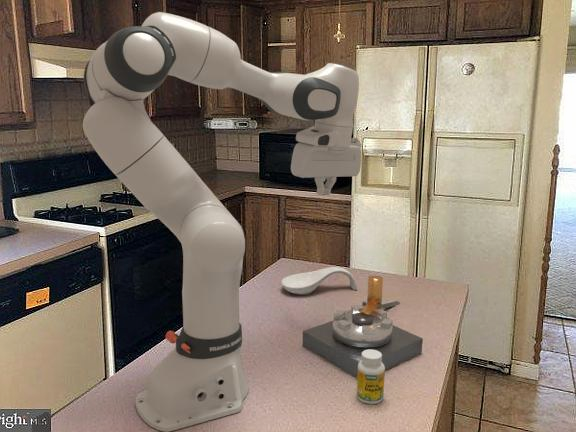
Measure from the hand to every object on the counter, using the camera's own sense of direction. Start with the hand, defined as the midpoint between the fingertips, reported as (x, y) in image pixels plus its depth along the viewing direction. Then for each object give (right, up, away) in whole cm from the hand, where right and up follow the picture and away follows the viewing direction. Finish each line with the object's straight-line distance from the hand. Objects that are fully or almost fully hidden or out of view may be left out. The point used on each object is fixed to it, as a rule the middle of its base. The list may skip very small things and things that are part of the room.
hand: (323, 194), depth 123 cm
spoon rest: (+1, -29, +39) cm, 49 cm away
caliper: (+18, -33, +22) cm, 43 cm away
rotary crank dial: (+10, -33, +2) cm, 34 cm away
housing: (+9, -37, 0) cm, 38 cm away
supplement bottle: (+8, -42, -19) cm, 47 cm away
